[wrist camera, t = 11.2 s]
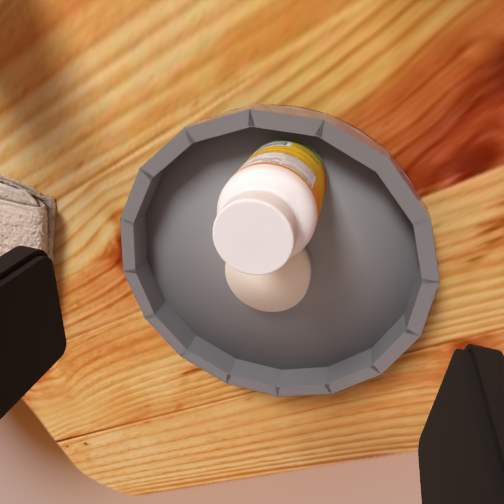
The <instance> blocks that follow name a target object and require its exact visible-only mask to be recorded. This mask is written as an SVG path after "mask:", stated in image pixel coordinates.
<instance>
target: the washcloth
mask: <svg viewBox="0 0 504 504" xmlns="http://www.w3.org/2000/svg"><path fill="white" fill-rule="evenodd" d="M55 200H56V199H55V197H47V196H42V195H41V193H40V192H38V191H36V190H35V189H34V188H32V187H31V186H29V185H27V184H25V183H22V182H19V181H16V180H14V179H11V178H8V177H5V176H2V175H0V256H1V255H3V254H5V253H6V252H8V251H10V250H11V249H13V248H15V247H17V246H27V247H31V248H36V249H40V250H43V251H45V252H46V253H47V255H48V258H50V259H51V260H52V263H53V262H54V256H53V245H54V236H55V233H54V232H55V229H54V228H55V227H54V225H55V216H56V214H55V209H56V202H55ZM53 266H54V264H53Z"/></svg>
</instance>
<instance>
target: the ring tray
mask: <svg viewBox="0 0 504 504" xmlns="http://www.w3.org/2000/svg"><path fill="white" fill-rule="evenodd" d="M284 138H287V139H295V140H299V141H302V142H304V143H306V144H308V145H309V146H310V147H312V148H313V149H314V150H315V151H316V152H317V153H318V154H319V156H320V157H321V159H322V160H323V162H324V164H325V167H326V170H327V177H328V182H327V189H326V194H325V197H324V201H323V204H322V208H321V211H320V215H319V218H318V221H317V225H316V228H315V231H314V233H313V236H312V238H311V239H310V241H309V243H308V244H307V245H306V246H305V247H304V248H303V249H302V250H301V251H300V252H299V253H297V254H296V255H294V256H292V257H290V258H289V260H288V261H287V262H286V263H285V264H284V265H283V266H282V267H281V268H280V269H278V270H276V271H274V272H272V273H269V274H265V275H250V274H245V273H242V272H240V271H238V270H236V269H234V268H232V267H231V266H230V265H228V264H227V263H226V262H225V261H224V260H223V259H222V258H221V256H220V255H219V253H218V252H217V250H216V247H215V245H214V242H213V224H214V221H215V219H216V217H217V203H218V199H219V196H220V194H221V191H222V189H223V188H224V186H225V185H226V183H227V182H228V181H229V179H230V178H231V177H232V176H233V175H234V174H235V173H236V172H237V171H238V170H239V168H240V167H241V166H242V165H243V164H244V163H245V162H246V161H247V160H248V159H249V158H250V157H251V156H252V155H253V154H254V153H255V152H256V151H257V150H258V149H259V148H260V147H261V146H263V145H264V144H266V143H268V142H270V141H273V140H276V139H284ZM120 224H121V240H122V257H123V271H124V274H125V276H126V278H127V280H128V282H129V284H130V287H131V289H132V291H133V293H134V295H135V297H136V300H137V302H138V304H139V306H140V308H141V310H142V313H143V315H144V317H145V319H146V320H147V321H148V322H149V323H150V324H151V325H152V326H153V327H154V328H155V329H156V330H157V331H158V333H159V334H160V335H161V336H162V337H163V338H164V339H165V340H166V341H167V342H168V343H169V344H170V345H171V346H172V348H173V349H174V350H175V351H176V352H177V353H178V354H179V355H180V356H181V357H183V358H184V359H186V360H188V361H189V362H191V363H193V364H195V365H196V366H198V367H200V368H201V369H203V370H205V371H206V372H208V373H210V374H212V375H213V376H215V377H217V378H218V379H220V380H222V381H223V382H225V383H228V384H232V385H235V386H239V387H243V388H247V389H251V390H255V391H259V392H263V393H267V394H271V395H274V396H299V395H321V394H333V393H335V392H338V391H340V390H343V389H345V388H348V387H350V386H353V385H355V384H358V383H361V382H363V381H366V380H368V379H371V378H373V377H376V376H378V375H381V374H382V373H383V372H384V371H385V370H386V369H387V368H388V367H389V366H390V365H391V364H392V363H393V362H394V361H395V360H396V359H397V358H398V357H400V356H401V355H402V354H403V353H404V352H405V351H406V350H407V349H408V348H409V347H410V346H411V345H412V344H413V343H414V342H415V341H416V340H417V339H418V338H419V337H420V336H421V333H422V330H423V327H424V325H425V322H426V319H427V316H428V313H429V310H430V308H431V305H432V302H433V299H434V296H435V294H436V291H437V288H438V285H439V282H440V281H439V274H438V267H437V260H436V253H435V246H434V239H433V232H432V225H431V218H430V215H429V212H428V208H427V206H426V205H425V203H424V202H423V200H422V199H421V197H420V196H419V194H418V193H417V191H416V189H415V187H414V186H413V184H412V182H411V181H410V179H409V177H408V175H407V174H406V173H405V171H404V170H403V169H402V168H401V166H400V165H399V164H398V163H397V161H396V160H395V159H394V158H393V156H392V155H391V153H390V152H389V151H388V150H386V149H385V148H383V147H382V146H381V145H380V144H379V143H378V142H376V141H375V140H374V139H372V138H371V137H369V136H368V135H366V134H365V133H364V132H362V131H361V130H359V129H358V128H356V127H354V126H352V125H350V124H348V123H346V122H344V121H342V120H341V119H339V118H336V117H333V116H331V115H329V114H328V113H322V112H319V111H316V110H311V109H306V108H302V107H297V106H287V105H263V104H255V105H252V106H248V107H244V108H240V109H235V110H230V111H228V112H225V113H222V114H220V115H217V116H214V117H211V118H207V119H204V120H200V121H197V122H194V123H193V124H191V125H189V126H187V127H185V128H184V129H183V130H181V131H180V132H179V133H178V134H177V135H176V136H175V137H174V138H173V139H172V140H170V141H169V142H168V143H167V144H166V145H165V146H164V147H163V148H162V149H160V150H159V151H158V152H157V153H156V154H155V155H154V156H153V157H152V158H151V159H149V160H148V161H147V162H146V163H145V164H144V165H143V166H142V167H141V168H140V169H139V172H138V174H137V177H136V179H135V182H134V185H133V187H132V190H131V192H130V195H129V198H128V200H127V203H126V205H125V208H124V210H123V213H122V216H121V218H120Z"/></svg>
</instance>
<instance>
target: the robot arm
mask: <svg viewBox="0 0 504 504" xmlns="http://www.w3.org/2000/svg"><path fill="white" fill-rule="evenodd" d="M65 348H66V337H65V332H64V326H63V320H62V314H61V309H60V303H59V297H58V291H57V285H56V280H55V274H54V268H53V263H52V260H51V259H50V258H48V255H47V253H46V252H45V251H43V250H40V249H36V248H31V247H27V246H17V247H15V248H13V249H11V250H10V251H8V252H6V253H5V254H3V255H1V256H0V419H1V418H2V417H3V416H4V415H5V414H6V413H7V412H8V411H9V410H10V409H11V408H12V407H13V406H14V405H15V404H16V403H17V402H18V400H20V399H21V397H22V396H23V395H24V394H25V393H26V392H27V391H28V390H29V389H30V388H31V387H32V386H33V385H34V384H35V383H36V382H37V381H38V380H39V379H40V378H41V377H42V376H43V375H44V374H45V373H46V372H47V371H48V370H49V369H50V368H51V367H52V366H53V365H54V364H55V363H56V362H57V360H58V359H59V358H60V357H61V356H62V355H63V353H64V351H65ZM418 456H419V469H420V482H421V495H422V504H504V356H503V354H502V352H501V351H499V350H495V349H491V348H486V347H482V346H477V345H473V344H469V345H467V346H466V348H465V350H462V349H456V350H455V352H454V354H453V356H452V359H451V361H450V364H449V366H448V369H447V371H446V374H445V376H444V379H443V381H442V384H441V386H440V389H439V391H438V394H437V396H436V399H435V401H434V404H433V406H432V409H431V411H430V414H429V416H428V419H427V422H426V424H425V427H424V429H423V432H422V434H421V437H420V441H419V449H418Z"/></svg>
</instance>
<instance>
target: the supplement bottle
mask: <svg viewBox="0 0 504 504" xmlns="http://www.w3.org/2000/svg"><path fill="white" fill-rule="evenodd" d="M327 182H328V177H327V170H326V167H325V164H324V162H323V160H322V159H321V157H320V156H319V154H318V153H317V152H316V151H315V150H314V149H313V148H312V147H310V146H309V145H308V144H306V143H304V142H302V141H299V140H295V139H287V138H284V139H276V140H273V141H270V142H268V143H266V144H264V145H263V146H261V147H260V148H259V149H258V150H257V151H256V152H255V153H254V154H253V155H252V156H251V157H250V158H249V159H248V160H247V161H246V162H245V163H244V164H243V165H242V166H241V167H240V168H239V170H238V171H237V172H236V173H235V174H234V175H233V176H232V177H231V178H230V179H229V181H228V182H227V183H226V185H225V186H224V188H223V189H222V191H221V194H220V196H219V199H218V203H217V217H216V219H215V221H214V224H213V242H214V245H215V247H216V250H217V252H218V253H219V255H220V256H221V258H222V259H223V260H224V261H225V262H226V263H227V264H228V265H230V266H231V267H232V268H234V269H236V270H238V271H240V272H242V273H245V274H250V275H265V274H269V273H272V272H274V271H276V270H278V269H280V268H281V267H282V266H283V265H284V264H285V263H286V262H287V261H288V260H289V258H290V257H292V256H294V255H296V254H297V253H299V252H300V251H301V250H302V249H303V248H304V247H305V246H306V245H307V244H308V243H309V241H310V239H311V238H312V236H313V233H314V231H315V228H316V225H317V221H318V218H319V215H320V211H321V208H322V204H323V201H324V197H325V194H326V189H327Z"/></svg>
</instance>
